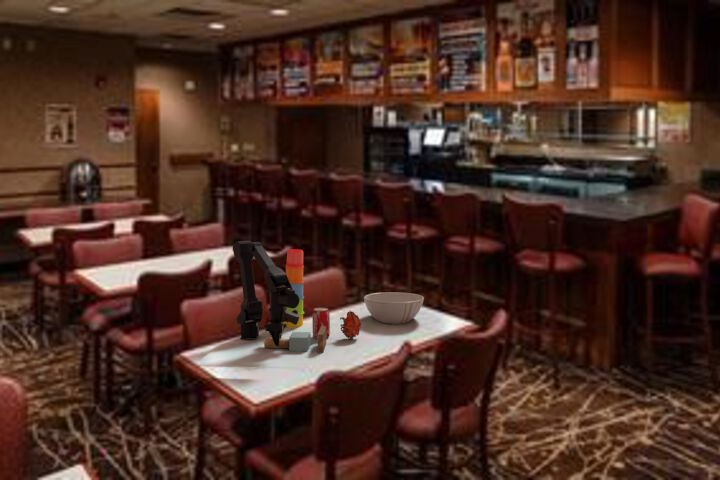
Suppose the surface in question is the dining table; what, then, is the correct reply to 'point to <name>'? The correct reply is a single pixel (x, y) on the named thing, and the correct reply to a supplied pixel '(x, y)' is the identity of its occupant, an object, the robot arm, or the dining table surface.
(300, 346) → the block
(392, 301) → the decorative bowl
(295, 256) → the stacking cups
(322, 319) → the soda can
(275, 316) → the robot arm
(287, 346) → the dowel
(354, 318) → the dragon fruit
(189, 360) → the dining table surface
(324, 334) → the wall
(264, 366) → the dining table surface
